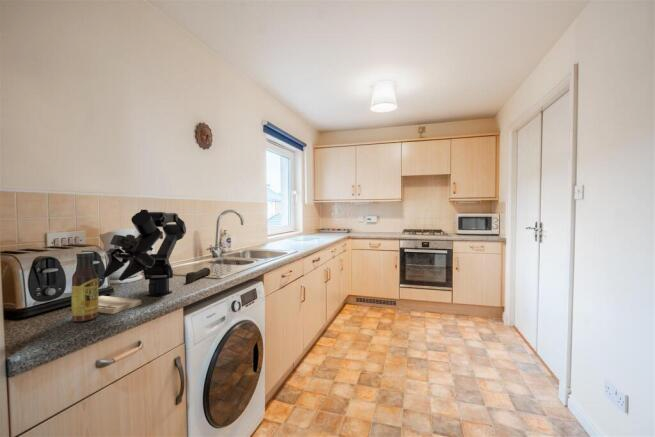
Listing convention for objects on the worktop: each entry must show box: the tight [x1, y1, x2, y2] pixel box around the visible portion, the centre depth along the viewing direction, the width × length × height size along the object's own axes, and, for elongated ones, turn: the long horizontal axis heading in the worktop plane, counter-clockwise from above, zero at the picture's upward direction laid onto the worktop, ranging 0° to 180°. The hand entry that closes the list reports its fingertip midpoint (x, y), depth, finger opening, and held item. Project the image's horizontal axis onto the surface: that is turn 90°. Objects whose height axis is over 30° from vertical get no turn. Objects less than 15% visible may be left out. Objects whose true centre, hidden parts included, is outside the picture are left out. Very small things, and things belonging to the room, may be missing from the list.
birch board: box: [98, 295, 142, 315], centre depth 99 cm, size 10×18×2 cm, turn 74°
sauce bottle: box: [71, 251, 100, 323], centre depth 88 cm, size 6×6×20 cm
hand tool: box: [185, 267, 211, 284], centre depth 139 cm, size 19×4×5 cm, turn 173°
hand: (111, 278), depth 95 cm, fingers open, 9 cm apart
